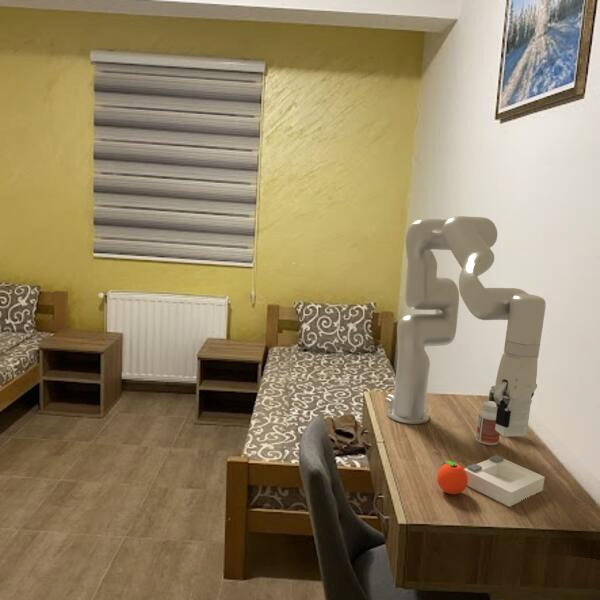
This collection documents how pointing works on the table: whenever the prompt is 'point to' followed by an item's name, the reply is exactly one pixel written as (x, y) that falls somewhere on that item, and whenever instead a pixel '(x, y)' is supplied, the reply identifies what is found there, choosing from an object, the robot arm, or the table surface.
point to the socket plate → (504, 480)
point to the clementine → (452, 478)
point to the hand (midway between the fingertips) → (511, 421)
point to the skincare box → (517, 415)
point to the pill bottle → (487, 424)
